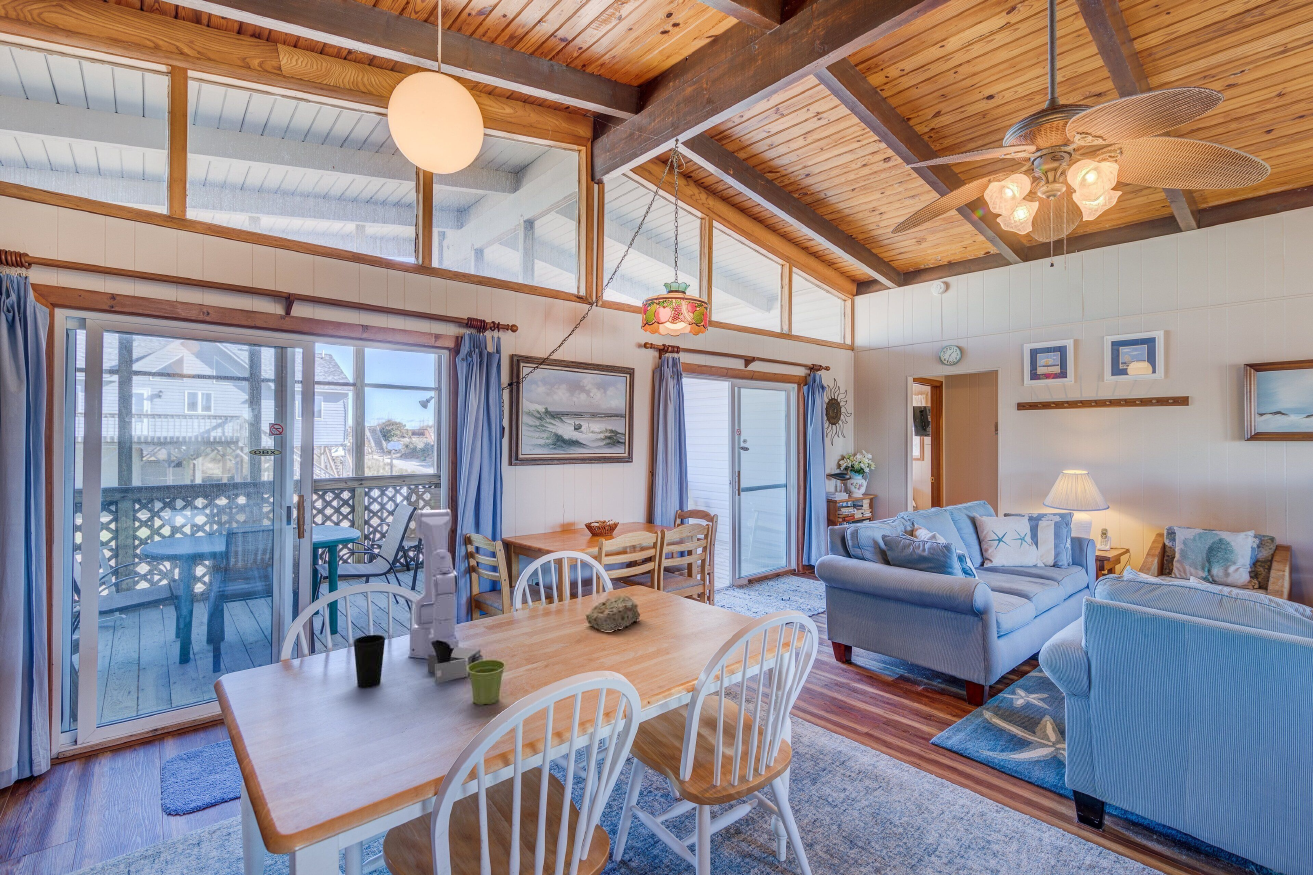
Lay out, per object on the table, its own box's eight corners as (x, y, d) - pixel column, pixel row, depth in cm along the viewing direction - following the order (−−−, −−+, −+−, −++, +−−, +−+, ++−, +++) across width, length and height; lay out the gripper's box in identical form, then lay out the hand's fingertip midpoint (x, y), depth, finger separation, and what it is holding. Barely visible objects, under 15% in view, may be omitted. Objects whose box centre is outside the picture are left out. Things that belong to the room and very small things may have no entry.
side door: (435, 683, 167) (435, 665, 167) (434, 681, 168) (434, 664, 168) (468, 677, 171) (468, 659, 171) (467, 675, 172) (467, 658, 172)
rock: (615, 638, 209) (608, 609, 210) (584, 640, 218) (577, 612, 218) (649, 617, 227) (643, 590, 227) (619, 619, 235) (612, 593, 235)
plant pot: (484, 711, 151) (485, 676, 151) (458, 702, 156) (459, 667, 156) (513, 698, 159) (513, 664, 159) (487, 689, 164) (487, 656, 164)
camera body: (427, 672, 175) (428, 652, 175) (443, 662, 183) (443, 643, 183) (471, 677, 172) (471, 656, 172) (485, 667, 179) (485, 647, 179)
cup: (353, 691, 161) (354, 645, 161) (352, 681, 168) (353, 637, 168) (385, 686, 165) (386, 641, 165) (383, 676, 172) (384, 633, 172)
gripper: (419, 614, 173) (419, 662, 173) (440, 626, 162) (440, 678, 163) (444, 609, 178) (443, 657, 178) (466, 621, 167) (465, 672, 167)
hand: (443, 667), depth 171 cm, fingers closed
